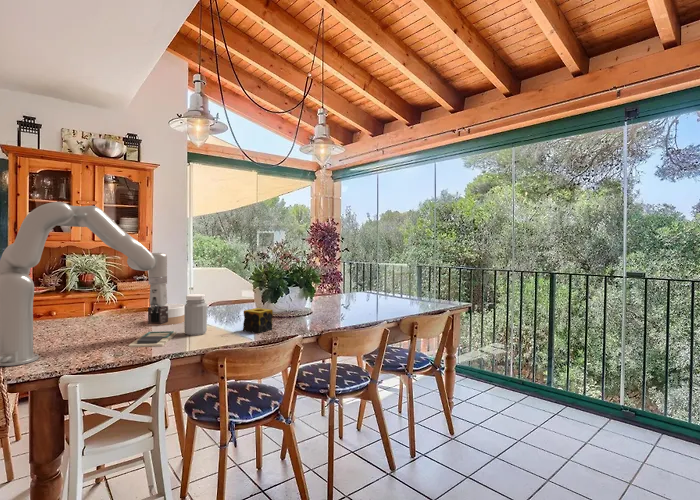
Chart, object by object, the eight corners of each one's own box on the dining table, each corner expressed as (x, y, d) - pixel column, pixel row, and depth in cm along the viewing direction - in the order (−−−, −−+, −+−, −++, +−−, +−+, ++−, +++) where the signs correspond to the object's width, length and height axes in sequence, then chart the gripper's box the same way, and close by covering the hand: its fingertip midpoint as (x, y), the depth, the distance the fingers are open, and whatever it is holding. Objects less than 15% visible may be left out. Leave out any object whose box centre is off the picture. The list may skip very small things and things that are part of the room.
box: (159, 325, 181) (159, 308, 181) (147, 324, 182) (147, 307, 182) (168, 322, 187) (168, 306, 187) (156, 321, 188) (156, 305, 188)
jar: (197, 330, 199) (197, 292, 199) (211, 332, 194) (211, 294, 194) (179, 334, 191) (179, 295, 190) (193, 336, 186) (193, 296, 185)
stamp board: (162, 346, 170) (162, 341, 170) (128, 347, 168) (128, 342, 168) (176, 333, 191) (176, 329, 191) (146, 334, 189) (146, 330, 189)
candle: (242, 331, 199) (242, 310, 199) (256, 327, 208) (256, 307, 208) (259, 333, 194) (259, 312, 194) (272, 329, 203) (273, 309, 203)
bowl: (192, 321, 221) (192, 305, 221) (162, 326, 206) (162, 310, 206) (171, 317, 230) (172, 302, 230) (142, 322, 215) (142, 306, 215)
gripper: (161, 282, 176) (161, 324, 177) (172, 278, 193) (172, 316, 194) (142, 282, 175) (142, 324, 176) (154, 278, 192) (155, 316, 193)
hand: (158, 319), depth 185 cm, fingers closed on box, 7 cm apart
